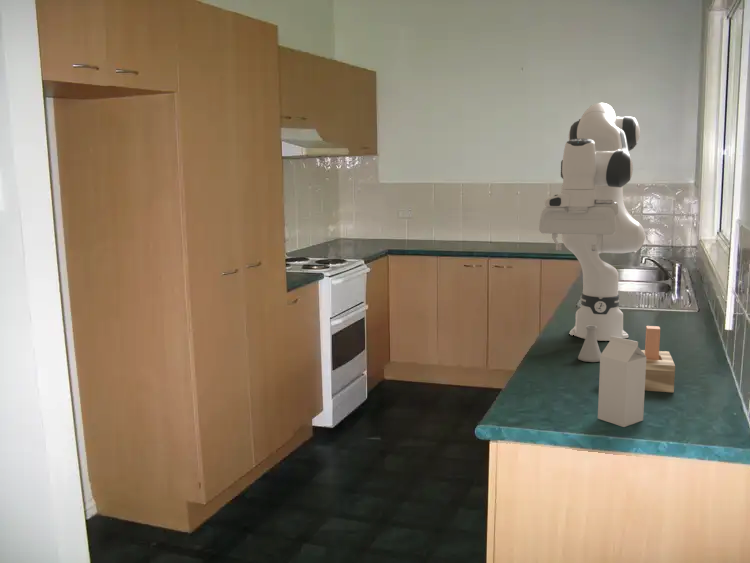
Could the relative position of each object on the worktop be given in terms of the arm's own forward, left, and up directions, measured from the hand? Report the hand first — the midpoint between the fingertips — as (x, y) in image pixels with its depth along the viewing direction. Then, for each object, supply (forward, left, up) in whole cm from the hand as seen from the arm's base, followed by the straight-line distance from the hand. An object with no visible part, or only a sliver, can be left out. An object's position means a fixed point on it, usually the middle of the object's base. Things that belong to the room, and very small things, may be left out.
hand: (576, 250), depth 201 cm
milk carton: (+39, +11, -34) cm, 53 cm away
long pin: (+8, +20, -34) cm, 40 cm away
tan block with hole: (+8, +20, -34) cm, 40 cm away
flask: (-12, +5, -34) cm, 37 cm away
